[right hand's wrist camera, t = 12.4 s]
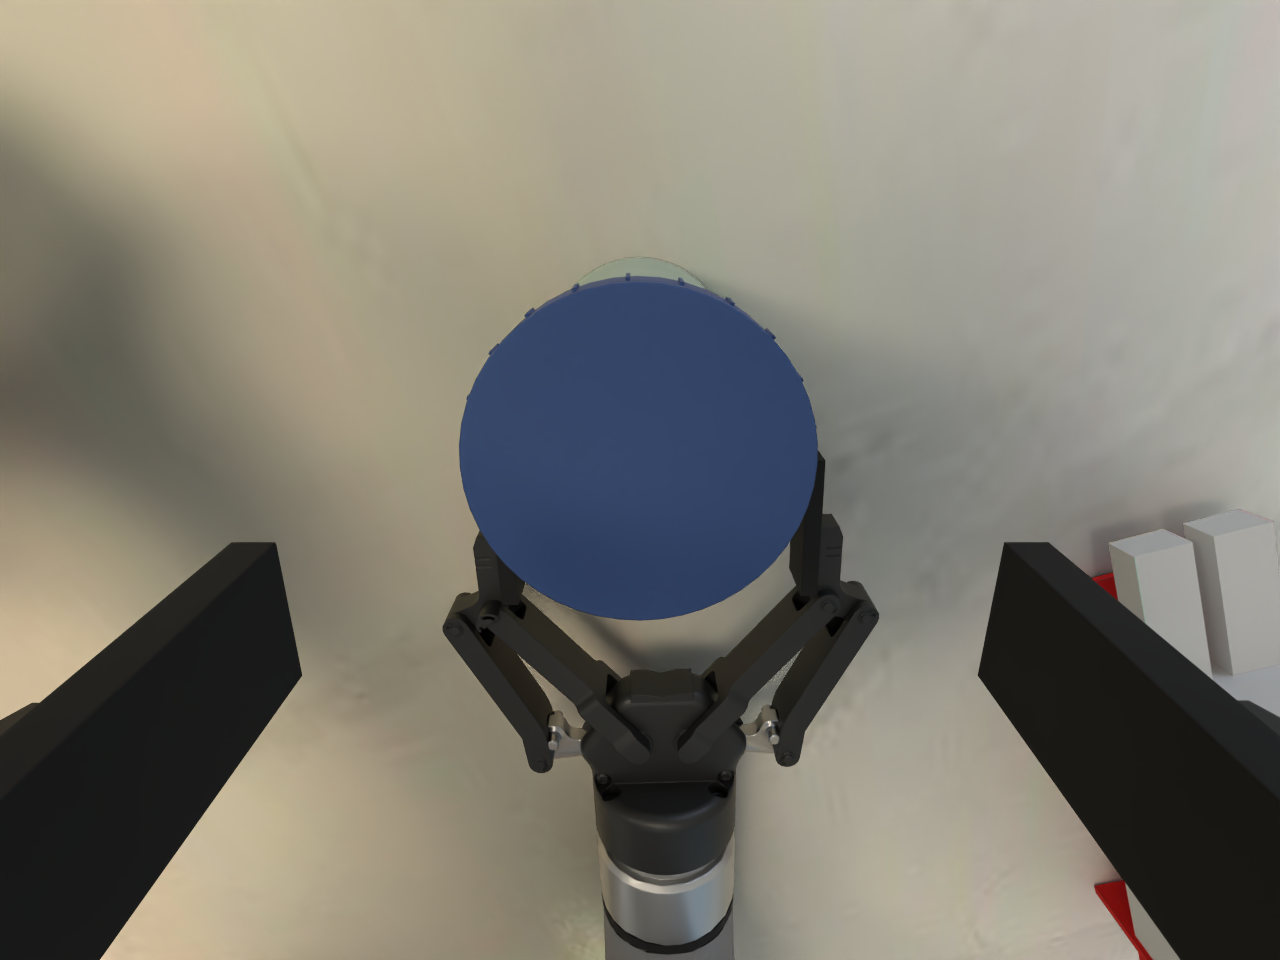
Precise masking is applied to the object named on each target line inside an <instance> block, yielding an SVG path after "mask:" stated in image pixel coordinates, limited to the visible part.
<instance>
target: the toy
mask: <svg viewBox="0 0 1280 960" xmlns="http://www.w3.org/2000/svg"><path fill="white" fill-rule="evenodd" d="M1183 528H1184V534H1185V538H1182V537H1180V536H1178V535H1176V534H1174V533H1171V532H1169V531H1167V530H1165V529H1159V530H1155V531H1152V532H1148V533H1144V534H1140V535H1136V536H1132V537H1129V538H1125V539H1121V540H1117V541H1113V542H1109V543H1108V545H1109V551H1110V557H1111V562H1112V568H1113V572H1112V573H1108V574H1105V575H1101V576H1098V577H1094V578H1092V579H1093V580H1094V581H1095V582H1096V583H1098V584H1099V585H1100V586H1101V587H1102V588H1104V589H1105V590H1106V591H1107V592H1108V593H1110V594H1111V595H1112V596H1113V597H1114V598H1115V599H1117V600H1118V601H1119V602H1120V603H1121V604H1123V605H1124V606H1125V607H1126V608H1127V609H1129V610H1130V611H1131V612H1132V613H1133V614H1135V615H1136V616H1137V617H1138V618H1139V619H1141V620H1142V621H1143V622H1144V623H1145V624H1147V625H1148V626H1149V627H1150V628H1151V629H1153V630H1154V631H1155V632H1156V633H1157V634H1159V635H1160V636H1161V637H1162V638H1163V639H1165V640H1166V641H1167V642H1168V643H1169V644H1170V645H1172V646H1173V647H1174V648H1175V649H1176V650H1178V651H1179V652H1180V653H1181V654H1182V655H1184V656H1185V657H1186V658H1187V659H1188V660H1190V661H1191V662H1192V663H1193V664H1194V665H1196V666H1197V667H1198V668H1199V669H1200V670H1202V671H1203V672H1204V673H1205V674H1206V675H1208V676H1209V677H1210V678H1211V679H1212V680H1214V681H1215V682H1216V683H1217V684H1218V685H1219V686H1221V687H1222V688H1223V689H1224V690H1225V691H1227V692H1228V693H1229V694H1230V695H1231V696H1233V697H1234V698H1235V699H1236V700H1249V701H1251V702H1253V703H1255V704H1256V705H1258V706H1260V707H1262V708H1264V709H1266V710H1268V711H1269V712H1271V713H1273V714H1275V715H1277V716H1279V717H1280V571H1279V563H1278V555H1277V547H1276V538H1275V530H1274V522H1273V521H1271V520H1269V519H1266V518H1263V517H1260V516H1257V515H1255V514H1252V513H1249V512H1246V511H1244V510H1241V509H1236V510H1232V511H1228V512H1225V513H1221V514H1217V515H1213V516H1209V517H1205V518H1202V519H1198V520H1194V521H1190V522H1186V523H1183ZM1095 891H1096V894H1097V895H1098V896H1099V898H1100V899H1101V901H1102V902H1103V903H1104V905H1105V906H1106V907H1107V909H1108V910H1109V912H1110V913H1111V914H1112V916H1113V917H1114V919H1115V920H1116V921H1117V923H1118V924H1119V926H1120V927H1121V928H1122V930H1123V931H1124V933H1125V934H1126V935H1127V937H1128V938H1129V940H1130V941H1131V942H1132V944H1133V945H1134V947H1135V948H1136V949H1137V951H1138V953H1139V959H1140V960H1180V959H1179V957H1178V956H1177V955H1176V953H1175V952H1174V950H1173V949H1172V948H1171V946H1170V945H1169V943H1168V942H1167V941H1166V939H1165V938H1164V936H1163V935H1162V933H1161V932H1160V931H1159V929H1158V928H1157V926H1156V925H1155V924H1154V922H1153V921H1152V919H1151V918H1150V917H1149V915H1148V914H1147V912H1146V911H1145V910H1144V908H1143V907H1142V905H1141V904H1140V903H1139V901H1138V900H1137V898H1136V897H1135V896H1134V894H1133V893H1132V891H1131V890H1130V889H1129V887H1128V886H1127V884H1126V883H1125V881H1124V880H1121V881H1116V882H1112V883H1107V884H1102V885H1097V886H1095Z"/></svg>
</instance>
